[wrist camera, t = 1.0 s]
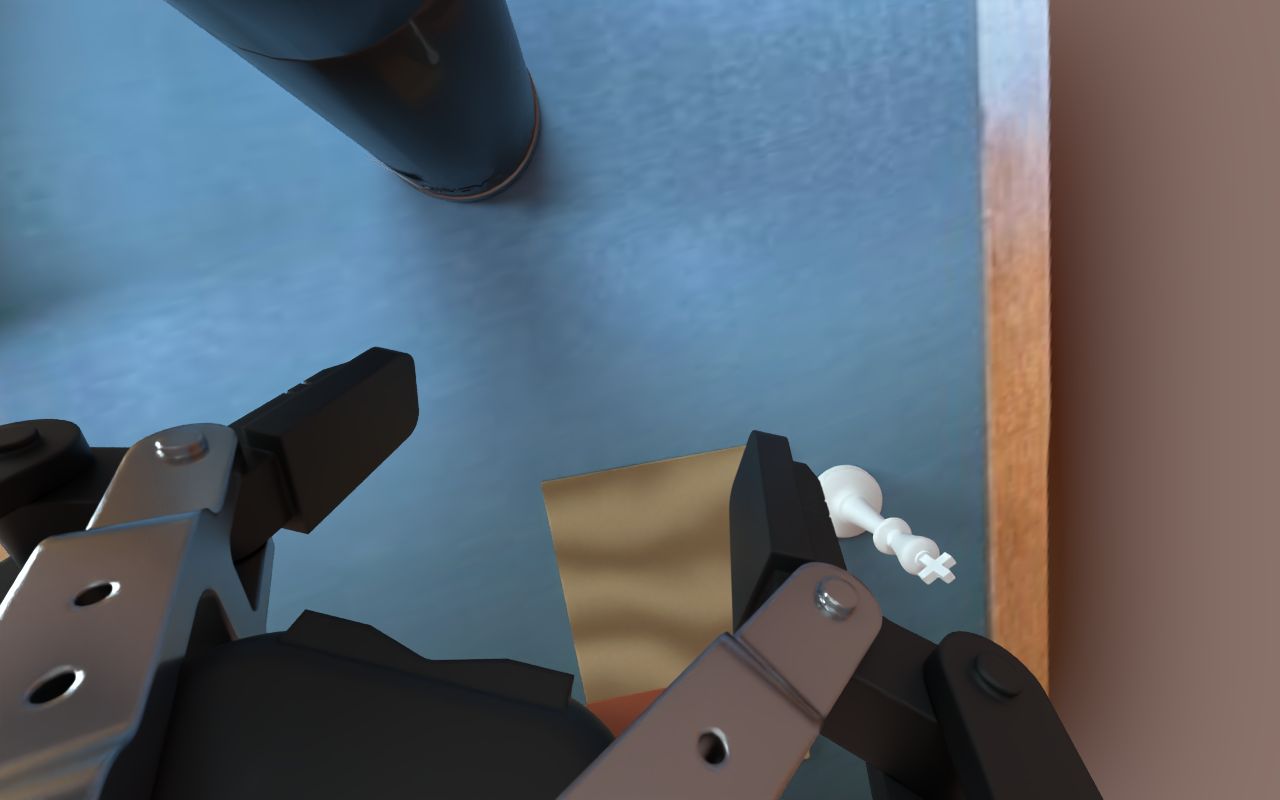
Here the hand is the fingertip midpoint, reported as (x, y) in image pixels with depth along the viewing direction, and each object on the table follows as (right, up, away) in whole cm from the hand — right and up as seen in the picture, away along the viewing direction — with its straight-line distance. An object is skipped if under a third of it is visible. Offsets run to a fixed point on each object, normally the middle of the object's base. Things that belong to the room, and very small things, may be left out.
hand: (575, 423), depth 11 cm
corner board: (+5, -15, +21) cm, 26 cm away
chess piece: (+15, -6, +21) cm, 26 cm away
